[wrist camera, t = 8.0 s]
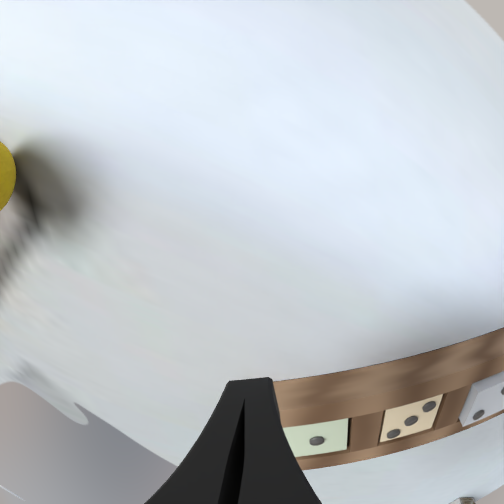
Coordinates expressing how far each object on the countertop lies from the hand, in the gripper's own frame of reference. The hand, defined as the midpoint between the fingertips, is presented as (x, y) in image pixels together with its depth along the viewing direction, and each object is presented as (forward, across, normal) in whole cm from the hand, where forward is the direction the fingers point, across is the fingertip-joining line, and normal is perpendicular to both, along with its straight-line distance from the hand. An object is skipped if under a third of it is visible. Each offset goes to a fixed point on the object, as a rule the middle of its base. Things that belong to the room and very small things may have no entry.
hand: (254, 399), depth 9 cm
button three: (+10, -10, +15) cm, 21 cm away
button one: (+10, -2, +15) cm, 18 cm away
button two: (+9, -18, +15) cm, 25 cm away
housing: (+10, -10, +15) cm, 21 cm away
